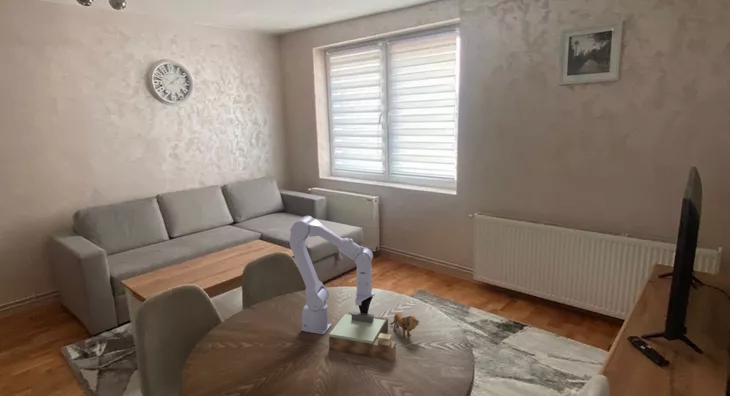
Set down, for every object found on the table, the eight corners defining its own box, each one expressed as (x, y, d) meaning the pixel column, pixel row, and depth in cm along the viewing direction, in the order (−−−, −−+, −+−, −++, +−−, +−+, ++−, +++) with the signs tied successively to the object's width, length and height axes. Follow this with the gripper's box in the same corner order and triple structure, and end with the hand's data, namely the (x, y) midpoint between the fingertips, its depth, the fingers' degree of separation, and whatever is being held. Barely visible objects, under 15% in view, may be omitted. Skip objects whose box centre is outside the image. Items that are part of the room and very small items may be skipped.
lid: (329, 336, 147) (329, 327, 146) (345, 316, 162) (345, 307, 161) (372, 343, 142) (372, 334, 141) (385, 322, 157) (385, 313, 156)
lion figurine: (420, 338, 155) (421, 316, 154) (410, 343, 152) (410, 320, 150) (395, 323, 167) (395, 302, 165) (384, 327, 164) (384, 305, 162)
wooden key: (377, 344, 142) (377, 337, 141) (380, 339, 144) (380, 333, 144) (389, 346, 140) (389, 339, 140) (391, 341, 143) (391, 334, 143)
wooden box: (329, 350, 148) (329, 336, 147) (348, 324, 166) (348, 312, 165) (392, 361, 141) (392, 347, 140) (405, 333, 159) (405, 320, 158)
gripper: (368, 290, 147) (368, 325, 150) (379, 275, 161) (379, 308, 164) (349, 287, 150) (350, 322, 152) (362, 273, 163) (362, 306, 166)
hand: (364, 315), depth 158 cm, fingers closed
